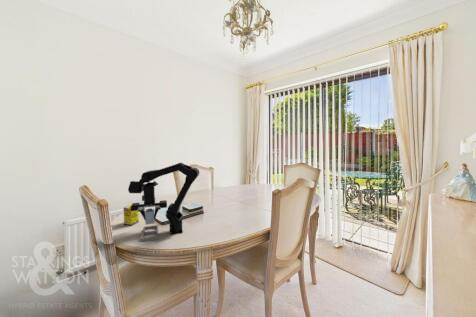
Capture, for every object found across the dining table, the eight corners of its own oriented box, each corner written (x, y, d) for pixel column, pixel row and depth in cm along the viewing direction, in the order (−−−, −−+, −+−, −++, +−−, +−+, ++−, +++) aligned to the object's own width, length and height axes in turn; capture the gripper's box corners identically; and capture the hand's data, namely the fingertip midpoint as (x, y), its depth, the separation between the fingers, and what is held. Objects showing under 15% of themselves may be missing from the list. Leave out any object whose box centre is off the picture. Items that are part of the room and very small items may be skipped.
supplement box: (131, 226, 127) (131, 208, 126) (123, 224, 129) (123, 207, 128) (139, 222, 133) (138, 205, 132) (131, 221, 134) (130, 204, 133)
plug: (154, 220, 123) (154, 207, 122) (154, 223, 118) (153, 210, 118) (146, 221, 121) (145, 208, 120) (145, 224, 117) (145, 211, 116)
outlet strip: (158, 227, 125) (158, 225, 125) (157, 239, 111) (157, 236, 111) (142, 229, 123) (142, 227, 122) (139, 241, 108) (139, 239, 108)
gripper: (166, 188, 129) (167, 213, 130) (132, 191, 122) (133, 216, 124) (166, 193, 118) (167, 219, 120) (129, 196, 112) (131, 224, 114)
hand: (150, 219), depth 120 cm, fingers closed on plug, 4 cm apart
